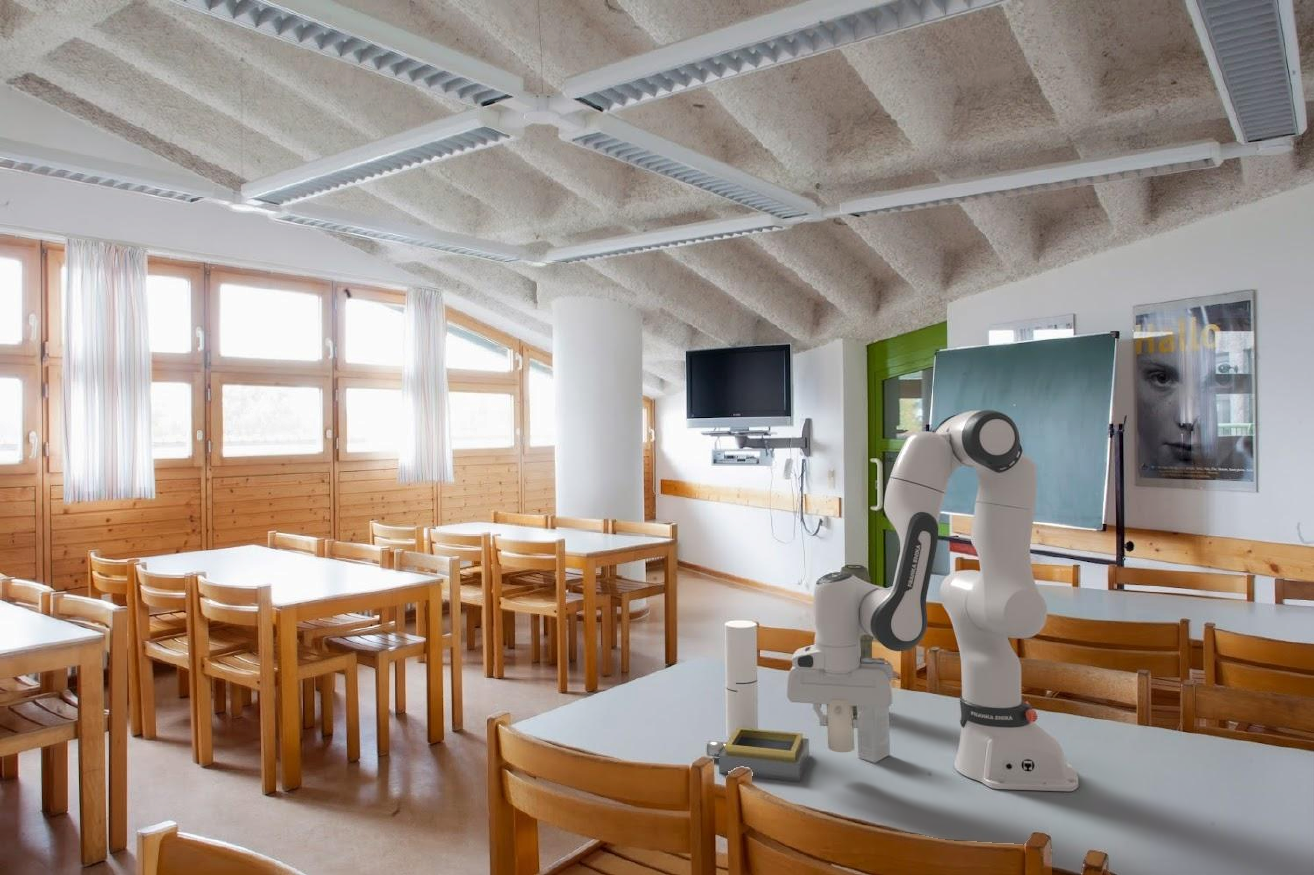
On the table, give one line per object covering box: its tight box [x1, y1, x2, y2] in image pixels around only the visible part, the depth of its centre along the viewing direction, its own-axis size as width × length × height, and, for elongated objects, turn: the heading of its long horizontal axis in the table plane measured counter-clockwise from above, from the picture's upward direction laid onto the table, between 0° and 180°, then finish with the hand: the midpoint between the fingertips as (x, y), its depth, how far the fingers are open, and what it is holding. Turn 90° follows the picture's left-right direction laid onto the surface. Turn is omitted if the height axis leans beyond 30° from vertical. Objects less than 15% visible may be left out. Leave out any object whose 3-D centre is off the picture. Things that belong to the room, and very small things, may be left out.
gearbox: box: [705, 727, 810, 783], centre depth 174 cm, size 20×14×5 cm
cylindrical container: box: [724, 619, 759, 739], centre depth 190 cm, size 7×7×25 cm
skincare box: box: [856, 706, 891, 763], centre depth 177 cm, size 6×4×12 cm
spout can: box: [826, 699, 855, 753], centre depth 165 cm, size 5×7×10 cm
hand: (840, 726), depth 166 cm, fingers closed on spout can, 5 cm apart
